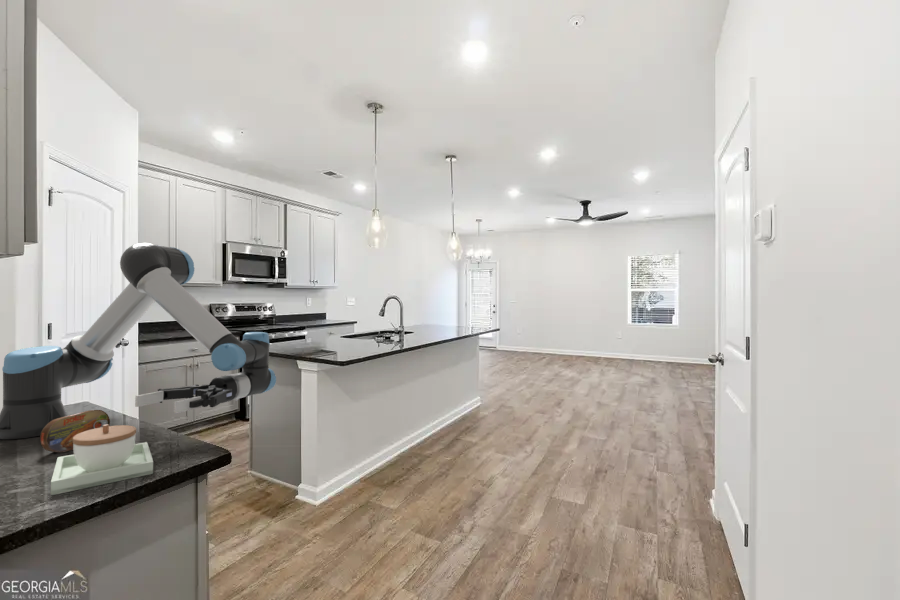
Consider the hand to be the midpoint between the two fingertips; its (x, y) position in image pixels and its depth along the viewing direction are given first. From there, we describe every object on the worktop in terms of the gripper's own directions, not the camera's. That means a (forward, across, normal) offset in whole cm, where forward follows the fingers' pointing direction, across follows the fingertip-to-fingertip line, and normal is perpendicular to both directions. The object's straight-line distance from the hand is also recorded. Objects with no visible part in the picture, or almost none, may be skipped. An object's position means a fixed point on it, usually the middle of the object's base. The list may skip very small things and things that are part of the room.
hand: (155, 404), depth 101 cm
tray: (+11, 0, -12) cm, 16 cm away
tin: (+3, +24, -13) cm, 27 cm away
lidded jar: (+11, 0, -12) cm, 16 cm away
